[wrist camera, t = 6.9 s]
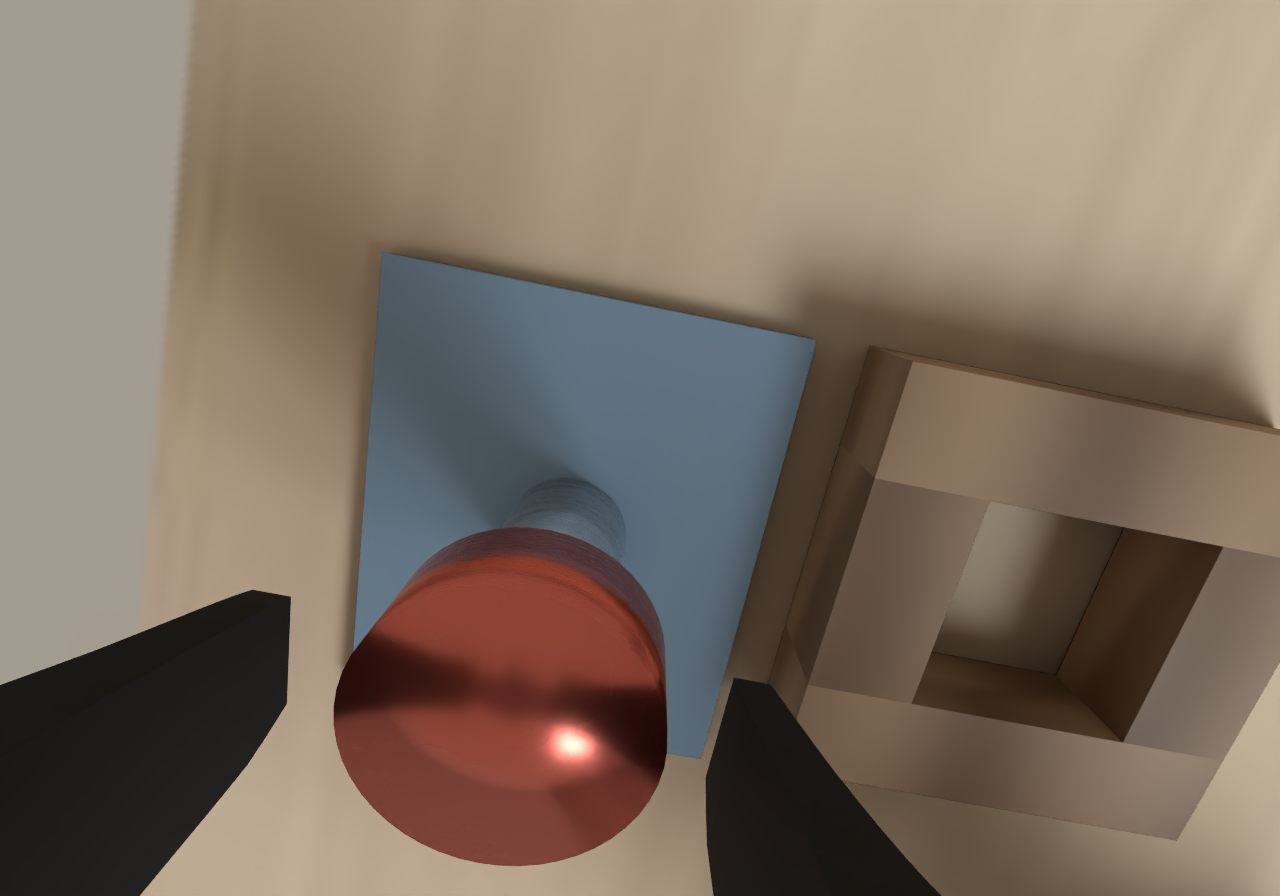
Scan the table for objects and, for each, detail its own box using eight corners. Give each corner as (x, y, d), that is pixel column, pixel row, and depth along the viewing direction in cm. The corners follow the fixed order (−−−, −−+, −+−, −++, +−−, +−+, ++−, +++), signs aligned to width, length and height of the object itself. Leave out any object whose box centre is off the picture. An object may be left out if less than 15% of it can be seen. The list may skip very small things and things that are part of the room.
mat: (811, 338, 14) (816, 340, 14) (699, 745, 18) (700, 759, 17) (391, 252, 14) (382, 252, 14) (358, 684, 18) (349, 696, 17)
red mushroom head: (680, 465, 15) (701, 626, 8) (640, 633, 16) (631, 889, 10) (485, 425, 15) (344, 557, 8) (461, 598, 16) (324, 835, 9)
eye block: (1277, 428, 15) (1397, 459, 12) (1106, 763, 18) (1176, 840, 15) (870, 345, 14) (912, 361, 12) (762, 700, 17) (780, 770, 15)
